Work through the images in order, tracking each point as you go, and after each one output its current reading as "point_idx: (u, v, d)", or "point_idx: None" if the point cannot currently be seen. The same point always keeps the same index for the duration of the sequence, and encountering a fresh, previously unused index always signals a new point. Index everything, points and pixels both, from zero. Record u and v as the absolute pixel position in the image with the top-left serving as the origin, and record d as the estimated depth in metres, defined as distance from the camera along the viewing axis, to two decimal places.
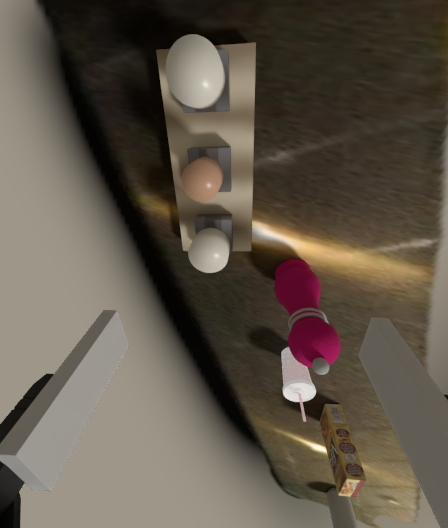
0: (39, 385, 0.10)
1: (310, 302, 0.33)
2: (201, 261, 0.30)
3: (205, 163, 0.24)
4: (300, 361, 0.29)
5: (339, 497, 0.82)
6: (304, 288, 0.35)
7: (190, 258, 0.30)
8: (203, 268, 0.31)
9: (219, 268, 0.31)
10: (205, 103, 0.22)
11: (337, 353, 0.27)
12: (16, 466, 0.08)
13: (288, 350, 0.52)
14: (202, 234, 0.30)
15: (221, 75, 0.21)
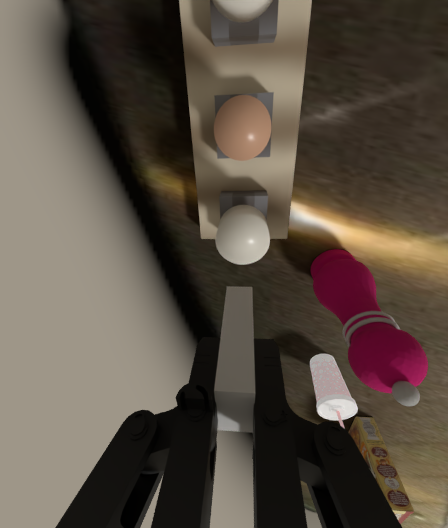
0: (203, 345, 0.11)
1: (371, 303, 0.26)
2: (232, 248, 0.23)
3: (251, 98, 0.16)
4: (370, 384, 0.21)
5: None
6: (358, 285, 0.27)
7: (218, 245, 0.23)
8: (234, 259, 0.23)
9: (256, 258, 0.23)
10: None
11: (425, 375, 0.20)
12: (225, 404, 0.09)
13: (319, 358, 0.44)
14: (234, 212, 0.22)
15: None
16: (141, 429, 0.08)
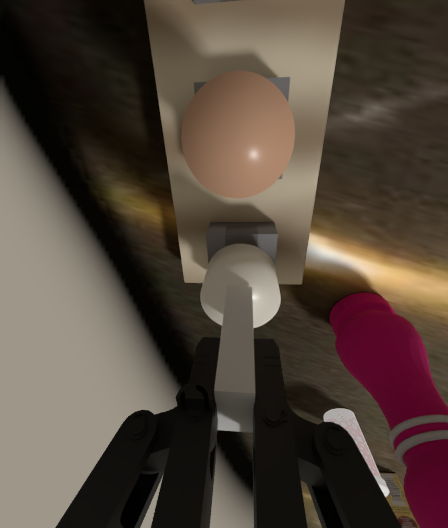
0: (203, 346, 0.11)
1: (430, 393, 0.17)
2: None
3: (256, 78, 0.08)
4: None
5: None
6: (407, 358, 0.19)
7: (204, 304, 0.15)
8: None
9: (260, 322, 0.16)
10: None
11: None
12: (225, 404, 0.09)
13: (336, 414, 0.36)
14: (228, 258, 0.15)
15: None
16: (141, 429, 0.08)
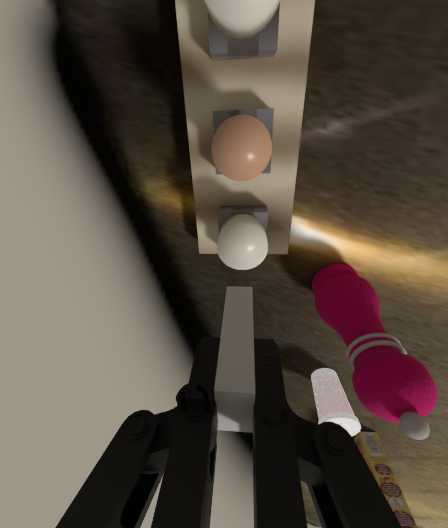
0: (203, 346, 0.11)
1: (375, 324, 0.25)
2: (233, 255, 0.24)
3: (251, 118, 0.15)
4: (376, 413, 0.20)
5: None
6: (362, 303, 0.26)
7: (219, 251, 0.24)
8: (235, 265, 0.25)
9: (255, 264, 0.24)
10: (256, 15, 0.13)
11: (434, 404, 0.19)
12: (225, 404, 0.09)
13: (321, 372, 0.43)
14: (235, 221, 0.23)
15: None
16: (141, 429, 0.08)
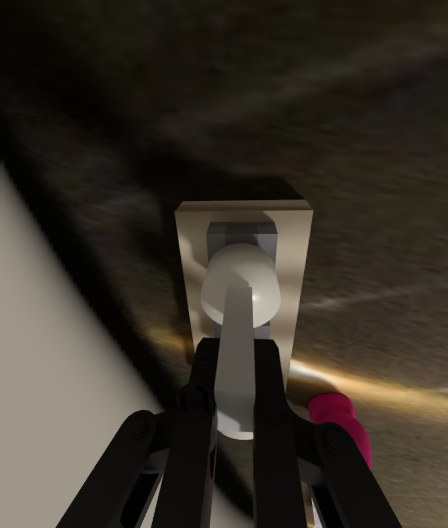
0: (203, 346, 0.11)
1: None
2: None
3: None
4: None
5: None
6: None
7: None
8: (234, 436, 0.26)
9: None
10: None
11: None
12: (225, 404, 0.09)
13: None
14: None
15: (278, 304, 0.15)
16: (141, 429, 0.08)
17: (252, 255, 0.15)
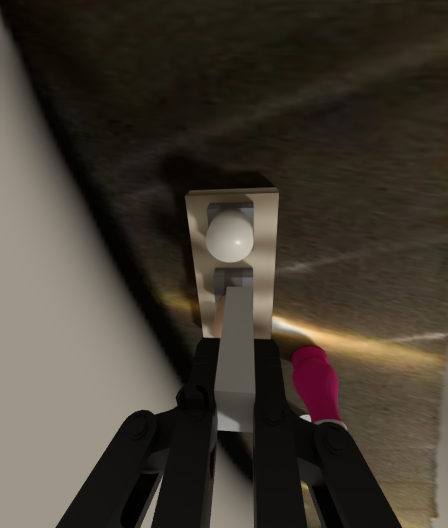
0: (203, 346, 0.11)
1: (330, 408, 0.35)
2: None
3: None
4: None
5: None
6: (323, 389, 0.37)
7: None
8: None
9: None
10: (238, 260, 0.26)
11: None
12: (225, 404, 0.09)
13: None
14: None
15: (252, 243, 0.25)
16: (141, 429, 0.08)
17: (236, 214, 0.25)
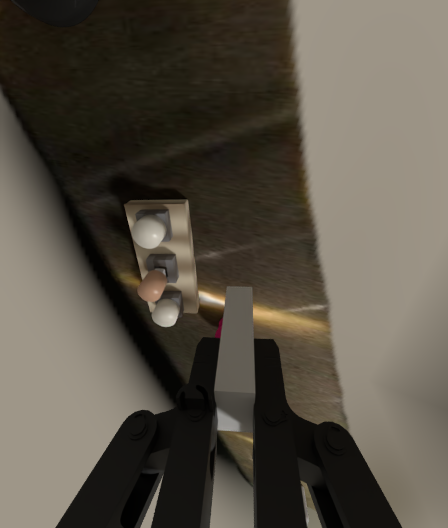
0: (203, 345, 0.11)
1: None
2: (160, 320, 0.49)
3: (150, 283, 0.40)
4: None
5: None
6: None
7: (153, 318, 0.49)
8: (162, 324, 0.50)
9: (171, 324, 0.49)
10: (153, 247, 0.41)
11: None
12: (225, 404, 0.09)
13: None
14: (160, 304, 0.48)
15: (160, 236, 0.40)
16: (141, 429, 0.08)
17: (151, 218, 0.40)
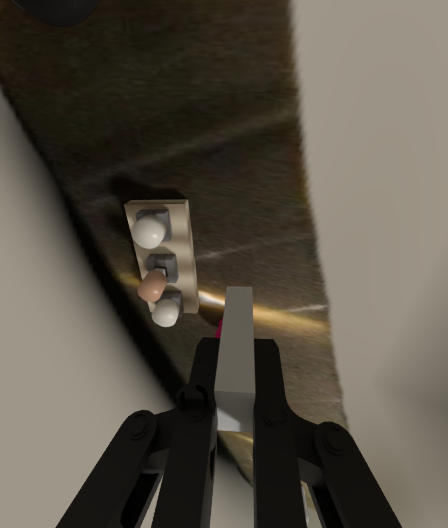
0: (203, 346, 0.11)
1: None
2: (160, 320, 0.49)
3: (150, 283, 0.40)
4: None
5: None
6: None
7: (153, 318, 0.49)
8: (162, 324, 0.50)
9: (171, 324, 0.49)
10: (153, 247, 0.41)
11: None
12: (225, 404, 0.09)
13: None
14: (160, 304, 0.48)
15: (160, 236, 0.40)
16: (141, 429, 0.08)
17: (151, 218, 0.40)
